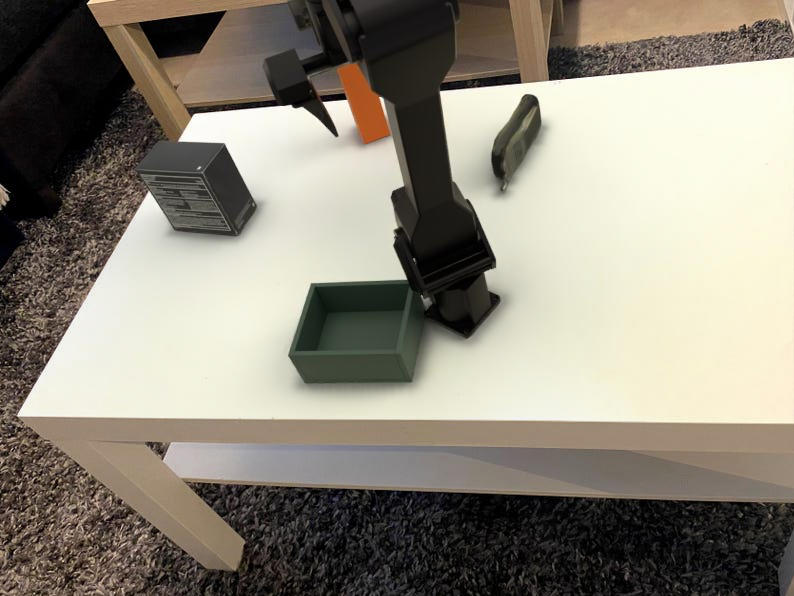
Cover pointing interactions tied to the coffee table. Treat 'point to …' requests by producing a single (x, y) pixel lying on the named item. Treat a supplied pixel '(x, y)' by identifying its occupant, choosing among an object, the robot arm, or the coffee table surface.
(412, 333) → the bin
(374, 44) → the robot arm
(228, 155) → the small box
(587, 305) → the coffee table surface
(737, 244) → the coffee table surface
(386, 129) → the orange rectangular block
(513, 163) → the olive green elongated pouch
